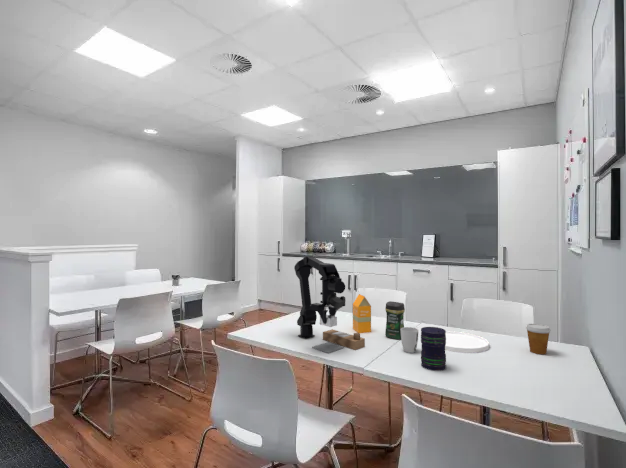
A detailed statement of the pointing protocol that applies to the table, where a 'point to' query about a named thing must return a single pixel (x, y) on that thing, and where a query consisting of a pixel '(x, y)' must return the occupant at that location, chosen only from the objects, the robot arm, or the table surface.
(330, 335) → the hand plane
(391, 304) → the coffee jar
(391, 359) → the table surface
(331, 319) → the lever cap
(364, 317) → the orange juice
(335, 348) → the rubber mat
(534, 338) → the disposable coffee cup
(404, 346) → the cup
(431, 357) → the storage jar
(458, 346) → the plate
